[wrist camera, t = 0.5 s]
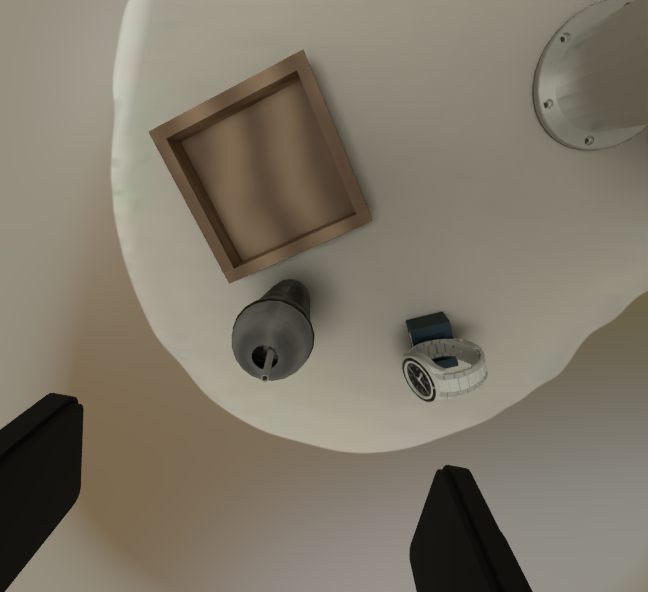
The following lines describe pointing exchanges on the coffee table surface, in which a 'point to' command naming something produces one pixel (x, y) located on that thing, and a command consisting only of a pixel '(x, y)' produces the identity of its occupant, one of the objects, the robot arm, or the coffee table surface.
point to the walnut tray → (263, 169)
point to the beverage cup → (274, 332)
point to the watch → (440, 360)
